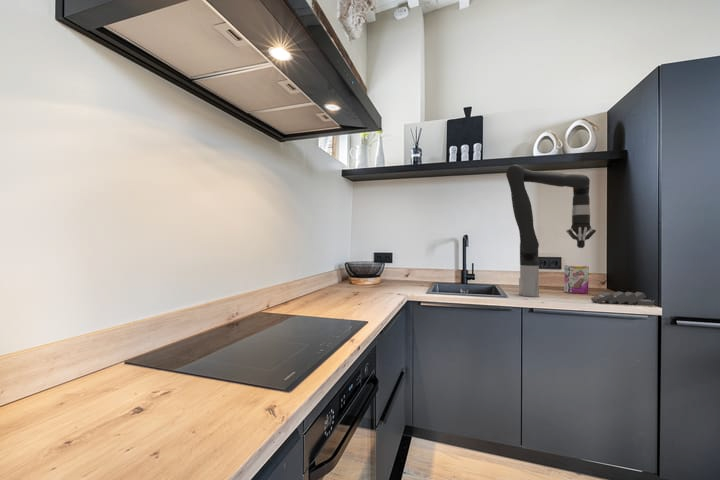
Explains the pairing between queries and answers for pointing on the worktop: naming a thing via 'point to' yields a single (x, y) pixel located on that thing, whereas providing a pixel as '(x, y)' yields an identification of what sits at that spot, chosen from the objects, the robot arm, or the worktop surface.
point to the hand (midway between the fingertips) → (580, 247)
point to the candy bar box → (576, 279)
